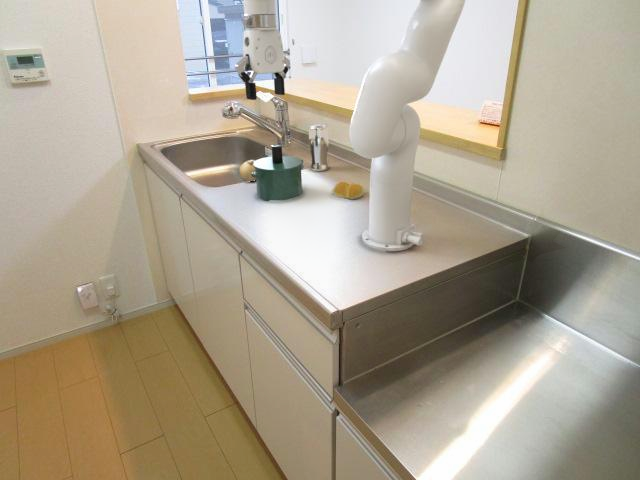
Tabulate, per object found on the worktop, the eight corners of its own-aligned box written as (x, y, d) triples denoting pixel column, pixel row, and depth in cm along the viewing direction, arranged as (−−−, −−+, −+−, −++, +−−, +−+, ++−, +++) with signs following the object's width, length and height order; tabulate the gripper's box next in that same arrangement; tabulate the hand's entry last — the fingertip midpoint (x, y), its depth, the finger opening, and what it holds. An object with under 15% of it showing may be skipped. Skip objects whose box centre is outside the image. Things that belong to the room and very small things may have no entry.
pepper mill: (332, 167, 162) (332, 125, 155) (322, 172, 157) (321, 129, 150) (316, 165, 165) (315, 123, 159) (306, 170, 160) (304, 127, 154)
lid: (312, 164, 135) (311, 144, 132) (276, 176, 125) (275, 155, 123) (279, 156, 144) (277, 137, 141) (243, 167, 134) (241, 147, 131)
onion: (235, 180, 152) (232, 159, 149) (253, 174, 157) (251, 154, 154) (250, 184, 147) (248, 163, 144) (268, 178, 152) (267, 158, 149)
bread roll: (360, 201, 131) (360, 188, 130) (330, 198, 134) (330, 186, 132) (365, 191, 138) (366, 179, 137) (337, 189, 141) (337, 177, 139)
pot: (317, 190, 140) (316, 160, 136) (272, 208, 128) (269, 176, 124) (286, 181, 149) (285, 153, 145) (241, 197, 136) (238, 167, 132)
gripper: (242, 23, 101) (249, 102, 108) (296, 22, 112) (299, 93, 120) (222, 24, 105) (230, 100, 113) (276, 22, 117) (280, 91, 124)
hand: (266, 96), depth 116 cm, fingers open, 9 cm apart
